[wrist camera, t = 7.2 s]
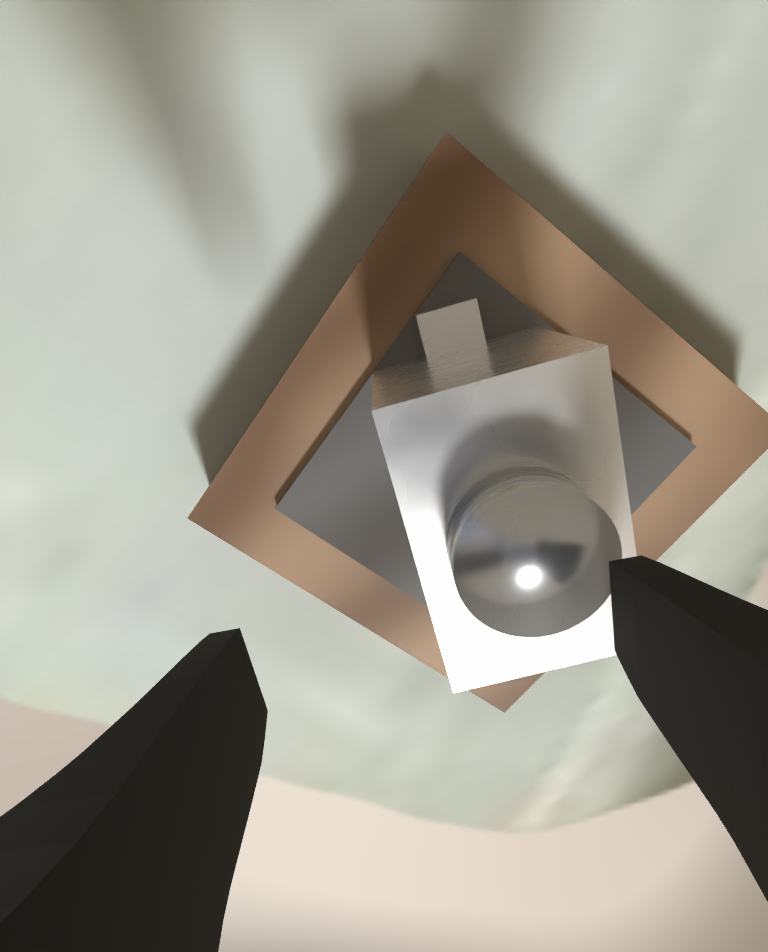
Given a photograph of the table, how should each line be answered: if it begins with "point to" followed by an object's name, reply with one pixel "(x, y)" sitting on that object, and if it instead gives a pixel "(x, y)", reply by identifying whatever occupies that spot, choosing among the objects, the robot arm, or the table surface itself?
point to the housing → (508, 492)
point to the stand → (397, 341)
